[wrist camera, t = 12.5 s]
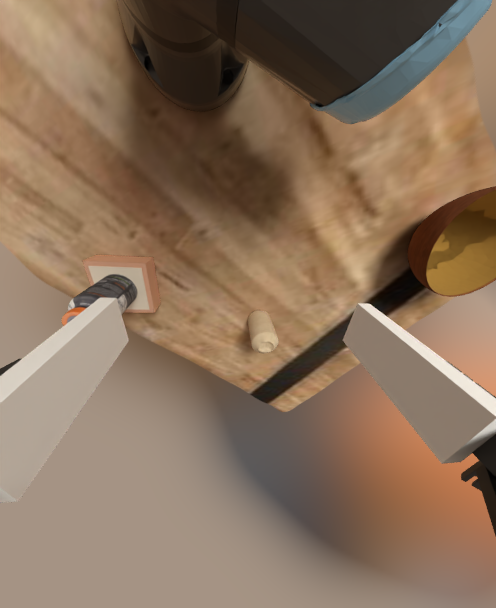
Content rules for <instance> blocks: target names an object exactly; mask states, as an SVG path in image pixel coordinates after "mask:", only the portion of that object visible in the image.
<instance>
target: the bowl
mask: <svg viewBox="0 0 496 608" xmlns="http://www.w3.org/2000/svg"><path fill="white" fill-rule="evenodd" d="M408 262H409V265H410V268H411V270H412V272H413V274H414V275H415V277H416V278H417V279H418V280H419V281H420V282H421V283H422V284H423V285H424V286H425V287H427V288H428V289H429V290H431V291H433V292H435V293H437V294H440V295H442V296H449V297H452V296H460V295H465V294H469V293H471V292H474V291H476V290H478V289H481V288H483V287H485V286H487V285H488V284H490V283H492V282H493V281H495V280H496V186H495V187H490V188H486V189H482V190H479V191H475V192H472V193H470V194H467V195H464V196H462V197H460V198H457V199H455V200H453V201H451V202H449V203H447V204H445V205H444V206H442V207H440V208H439V209H437V210H436V211H434V212H433V213H432V214H431V215H429V216H428V217H427V218H426V219H425V220H424V221H423V222H422V223H421V224H420V226H419V227H418V228H417V230H416V231H415V232H414V234H413V236H412V238H411V241H410V243H409V247H408Z"/></svg>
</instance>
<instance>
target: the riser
mask: <svg viewBox="0 0 496 608" xmlns="http://www.w3.org/2000/svg"><path fill="white" fill-rule="evenodd" d="M82 262H83V265H84V268H85V271H86V273H87V276H88V279H89V282H90V285H91V286H92V285H94V284H95V283H97V282H98V281H100V280H101V279H103V278H104V277H106V276H108V275H111V274H119V275H123V276H125V277H127V278H129V279H130V280H131V281H132V282H133V283H134V284H135V286H136V288H137V297H136V299H135V300H134V301H133V302H132V304H131V305H130V306H129V307H128V308H127V309H126V310H125V311H124V312H136V313H155V311H156V310H157V308H158V307H159V305H160V304H161V301H160V295H159V289H158V283H157V277H156V271H155V265H154V259H153V257H137V256H116V255H94V256H92V257H90V258H88V259H85V260H83V261H82Z"/></svg>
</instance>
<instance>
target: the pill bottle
mask: <svg viewBox="0 0 496 608" xmlns="http://www.w3.org/2000/svg"><path fill="white" fill-rule="evenodd" d="M136 297H137V288H136V286H135V284H134V283H133V282H132V281H131V280H130V279H129V278H127V277H125V276H123V275H119V274H111V275H108V276H106V277H104V278H103V279H101V280H100V281H98V282H97V283H95V284H94V285H92V286H91V287H89V288H88V289H86V290H85V291H83V292H82V293H80V294H79V295H77V296H76V297H75V298H73V299H72V300H71V301H70V303H69V305H68V312H67V313H66V314H65V315H64V316H63V317H62V324H63V326H65V325H66V324H67V323H68V322H70V321H71V320H72V319H74V318H75V317H76V316H77V315H79V314H80V313H81V312H82V311H84V310H85V309H86V308H88V307H89V306H90V305H91V304H93V303H94V302H95V301H96V300H98V299H99V298H117V301H118V304H119V308H120V311H121V315H122V314H123V313H124V311H125V310H126V309H127V308H128V307H129V306H130V305H131V304H132V302H133V301H134V300H135V299H136Z"/></svg>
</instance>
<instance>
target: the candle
mask: <svg viewBox="0 0 496 608" xmlns="http://www.w3.org/2000/svg"><path fill="white" fill-rule="evenodd" d="M248 326H249V332H250V339H251V345H252V348H253V349H254V350H255V351H256V352H259V353H269V352H271V351H273V350H274V349H275V348H276V347H277V345H278V337H277V334H276V332H275V329H274V326H273V323H272V320H271V318H270V315H269V314H268V313H267V312H266V311H263V310H257V311H254V312H252V313H251V314H250V315H249V317H248Z"/></svg>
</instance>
